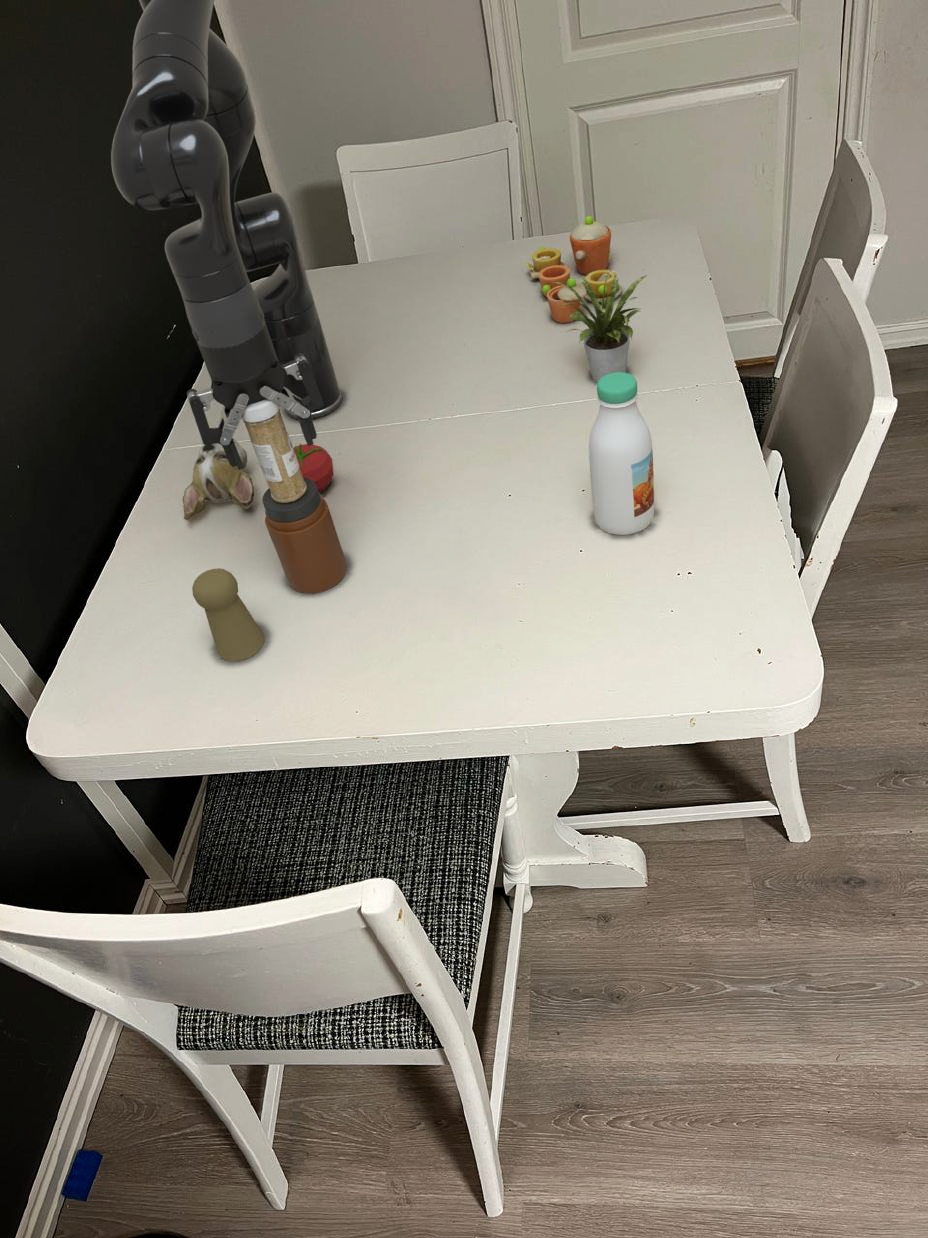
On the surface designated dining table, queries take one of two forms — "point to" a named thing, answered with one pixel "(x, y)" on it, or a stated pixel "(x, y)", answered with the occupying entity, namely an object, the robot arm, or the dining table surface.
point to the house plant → (605, 330)
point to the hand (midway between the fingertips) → (274, 454)
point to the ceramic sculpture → (217, 481)
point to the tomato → (315, 464)
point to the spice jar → (274, 451)
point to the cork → (227, 616)
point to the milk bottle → (621, 459)
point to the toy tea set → (590, 260)
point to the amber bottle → (306, 541)
